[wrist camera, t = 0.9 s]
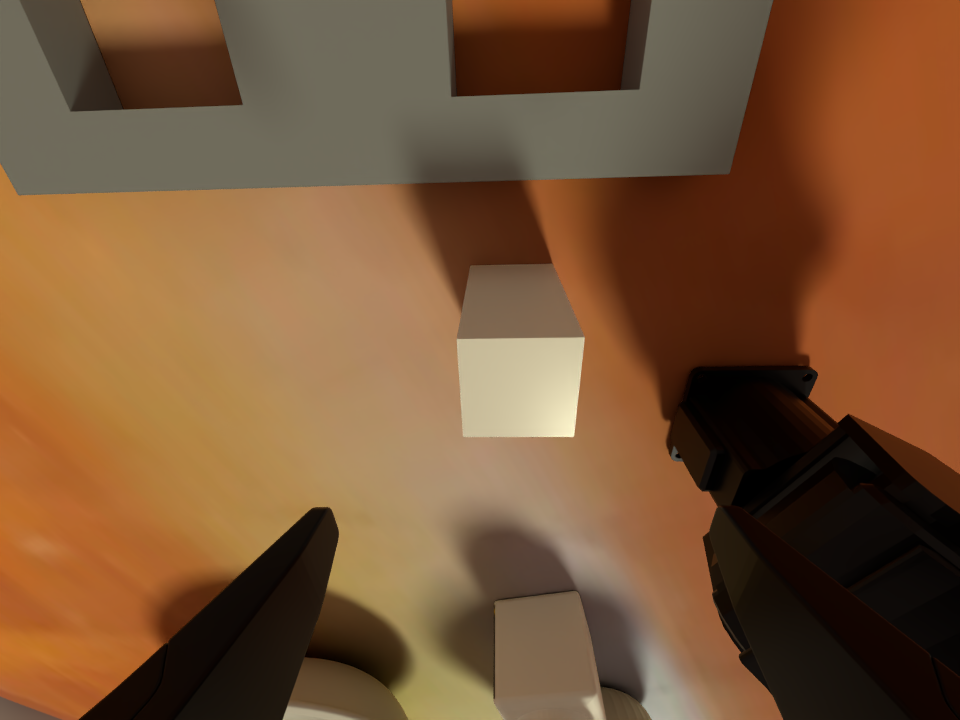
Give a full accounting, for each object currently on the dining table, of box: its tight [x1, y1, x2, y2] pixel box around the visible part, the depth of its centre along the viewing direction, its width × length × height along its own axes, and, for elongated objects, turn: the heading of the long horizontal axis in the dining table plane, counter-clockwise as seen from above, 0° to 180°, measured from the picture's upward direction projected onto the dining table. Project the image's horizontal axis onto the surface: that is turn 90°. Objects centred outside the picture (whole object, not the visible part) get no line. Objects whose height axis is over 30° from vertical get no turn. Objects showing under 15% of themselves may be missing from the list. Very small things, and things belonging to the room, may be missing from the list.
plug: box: [457, 264, 585, 437], centre depth 17 cm, size 4×4×8 cm
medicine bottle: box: [494, 591, 606, 720], centre depth 29 cm, size 7×7×12 cm
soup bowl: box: [283, 657, 408, 720], centre depth 39 cm, size 24×24×7 cm
